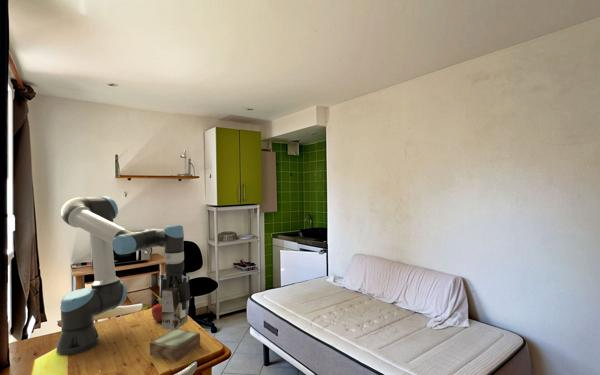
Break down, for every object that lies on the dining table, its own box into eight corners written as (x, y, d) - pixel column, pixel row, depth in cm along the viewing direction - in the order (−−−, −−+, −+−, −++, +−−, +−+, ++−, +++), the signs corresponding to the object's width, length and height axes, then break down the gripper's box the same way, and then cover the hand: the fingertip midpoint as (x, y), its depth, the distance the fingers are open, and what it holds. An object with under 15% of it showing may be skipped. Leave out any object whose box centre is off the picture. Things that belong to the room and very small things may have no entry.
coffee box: (175, 330, 129) (174, 291, 129) (161, 329, 131) (161, 290, 130) (188, 321, 138) (187, 284, 138) (175, 319, 140) (174, 283, 139)
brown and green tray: (150, 354, 131) (149, 342, 131) (175, 339, 144) (174, 327, 144) (176, 361, 126) (176, 348, 126) (200, 344, 139) (199, 332, 139)
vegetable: (147, 320, 164) (147, 300, 164) (166, 313, 172) (166, 295, 172) (157, 326, 157) (157, 306, 157) (177, 319, 165) (177, 300, 164)
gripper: (149, 261, 134) (150, 315, 135) (187, 266, 127) (187, 323, 127) (163, 257, 141) (164, 309, 142) (199, 261, 134) (200, 315, 134)
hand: (175, 315), depth 134 cm, fingers closed on coffee box, 7 cm apart
